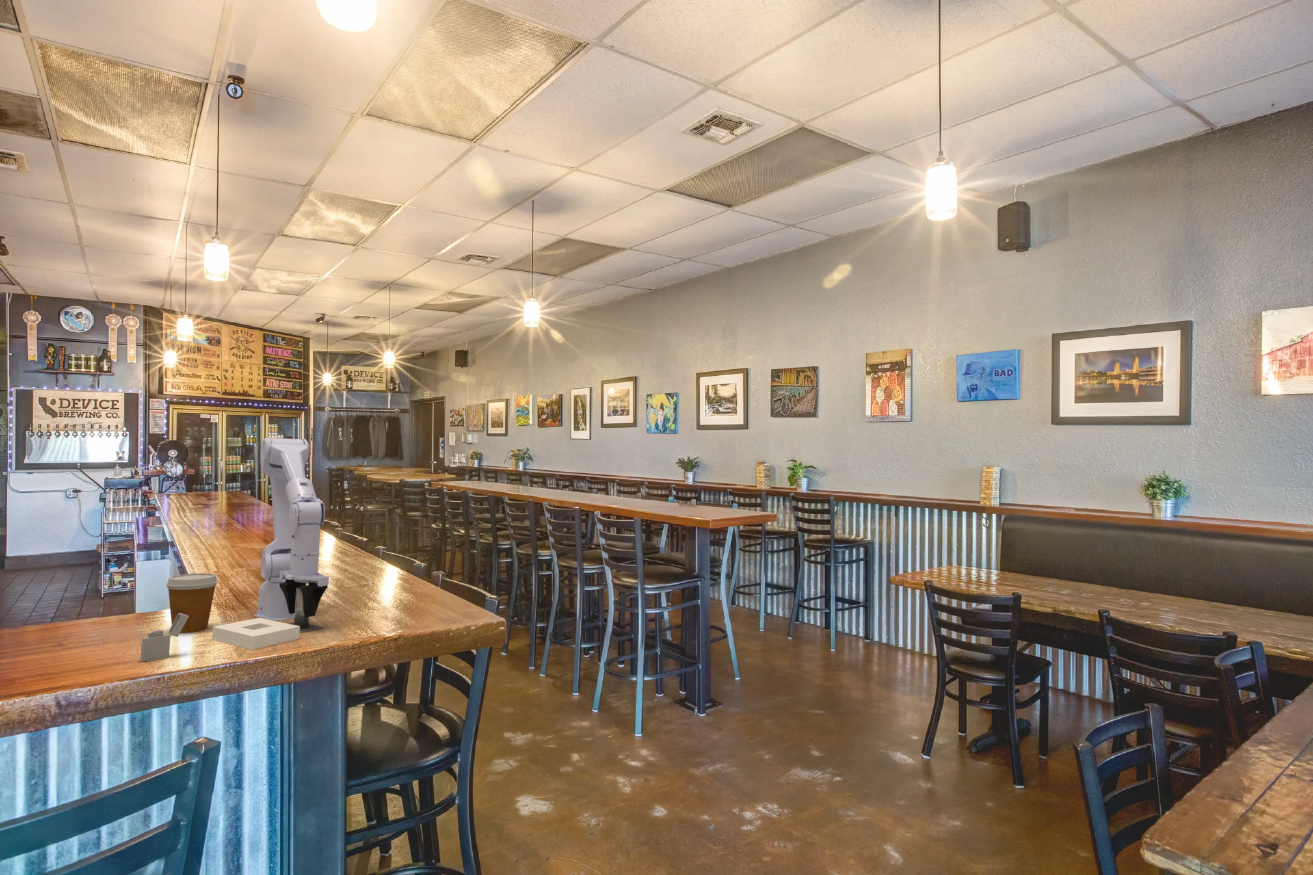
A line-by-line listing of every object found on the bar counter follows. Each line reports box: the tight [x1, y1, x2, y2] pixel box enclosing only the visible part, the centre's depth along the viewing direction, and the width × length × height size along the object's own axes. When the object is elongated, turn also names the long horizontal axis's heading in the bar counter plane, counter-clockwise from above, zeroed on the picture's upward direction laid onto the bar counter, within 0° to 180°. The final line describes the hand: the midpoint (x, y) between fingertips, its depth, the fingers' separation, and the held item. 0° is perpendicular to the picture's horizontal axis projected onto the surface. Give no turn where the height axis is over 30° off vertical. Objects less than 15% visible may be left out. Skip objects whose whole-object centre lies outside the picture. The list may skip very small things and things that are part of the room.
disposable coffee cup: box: [165, 572, 219, 634], centre depth 148 cm, size 10×10×12 cm
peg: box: [293, 587, 310, 629], centre depth 152 cm, size 3×3×9 cm
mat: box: [287, 621, 326, 634], centre depth 152 cm, size 10×8×1 cm
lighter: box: [140, 613, 189, 663], centre depth 129 cm, size 7×2×8 cm, turn 144°
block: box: [211, 617, 301, 651], centre depth 142 cm, size 14×10×3 cm
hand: (302, 614), depth 152 cm, fingers open, 5 cm apart
